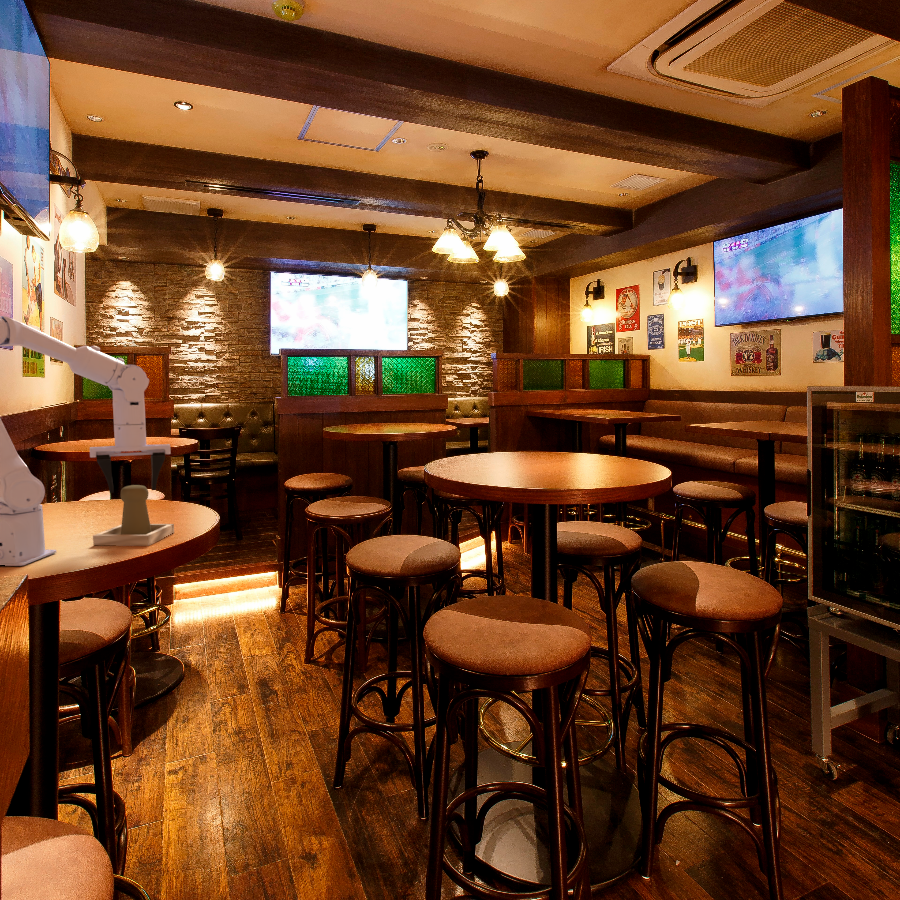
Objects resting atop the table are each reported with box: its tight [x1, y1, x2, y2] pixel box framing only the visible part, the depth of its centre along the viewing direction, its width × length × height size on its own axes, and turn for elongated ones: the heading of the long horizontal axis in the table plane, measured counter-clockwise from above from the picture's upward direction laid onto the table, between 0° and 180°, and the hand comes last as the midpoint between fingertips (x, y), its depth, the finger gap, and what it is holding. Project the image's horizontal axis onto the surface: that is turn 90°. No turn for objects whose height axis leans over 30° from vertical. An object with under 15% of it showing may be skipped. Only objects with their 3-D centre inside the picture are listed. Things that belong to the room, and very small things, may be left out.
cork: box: [120, 484, 152, 535], centre depth 128 cm, size 6×6×11 cm
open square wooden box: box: [92, 523, 175, 547], centre depth 127 cm, size 11×11×2 cm
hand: (133, 490), depth 126 cm, fingers open, 7 cm apart
